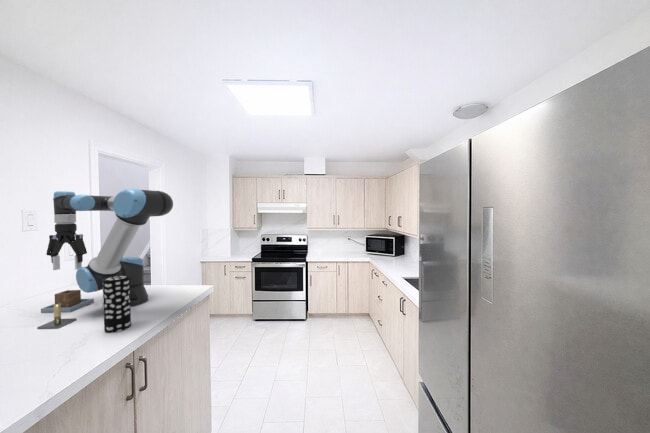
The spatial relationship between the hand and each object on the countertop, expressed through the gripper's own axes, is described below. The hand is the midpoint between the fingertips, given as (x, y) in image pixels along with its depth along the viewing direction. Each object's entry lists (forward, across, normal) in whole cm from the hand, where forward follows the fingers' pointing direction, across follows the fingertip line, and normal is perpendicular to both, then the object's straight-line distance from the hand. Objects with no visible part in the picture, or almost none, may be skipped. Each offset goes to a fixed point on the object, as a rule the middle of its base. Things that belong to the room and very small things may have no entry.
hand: (67, 269), depth 127 cm
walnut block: (+18, 0, 0) cm, 18 cm away
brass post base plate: (+19, -14, +20) cm, 31 cm away
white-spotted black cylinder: (+19, -42, +25) cm, 52 cm away
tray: (+19, 0, 0) cm, 19 cm away
